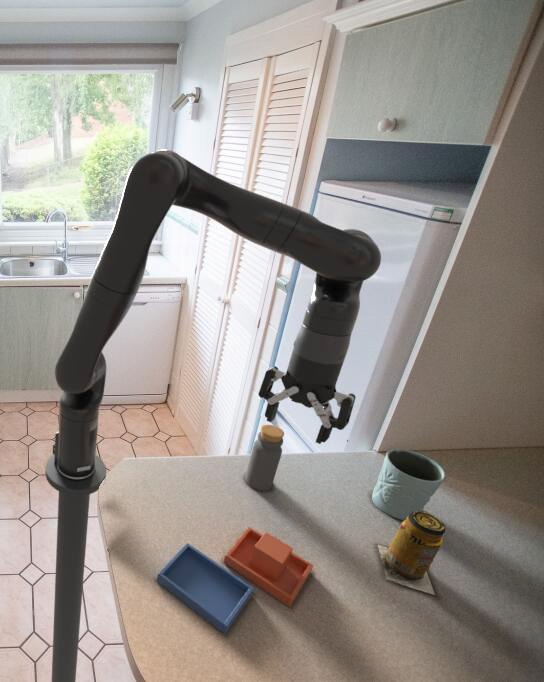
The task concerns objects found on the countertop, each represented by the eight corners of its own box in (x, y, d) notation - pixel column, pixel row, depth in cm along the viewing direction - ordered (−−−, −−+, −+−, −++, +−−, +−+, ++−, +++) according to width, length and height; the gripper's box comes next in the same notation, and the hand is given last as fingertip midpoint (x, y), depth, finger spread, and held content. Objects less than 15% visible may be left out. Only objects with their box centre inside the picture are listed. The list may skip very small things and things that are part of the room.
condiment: (421, 559, 88) (445, 513, 83) (434, 595, 81) (461, 549, 76) (377, 545, 91) (397, 501, 86) (385, 579, 84) (409, 533, 79)
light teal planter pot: (391, 486, 106) (409, 445, 101) (436, 518, 97) (459, 475, 92) (357, 494, 104) (374, 453, 99) (400, 529, 95) (421, 485, 90)
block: (248, 565, 86) (254, 546, 84) (259, 550, 90) (265, 531, 87) (275, 582, 83) (282, 563, 81) (286, 566, 86) (293, 548, 84)
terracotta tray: (223, 562, 88) (225, 555, 87) (246, 533, 94) (248, 526, 93) (289, 607, 79) (292, 599, 79) (310, 572, 86) (313, 565, 85)
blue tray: (156, 581, 84) (158, 573, 83) (185, 549, 90) (187, 542, 89) (224, 634, 75) (227, 626, 74) (251, 595, 81) (254, 588, 80)
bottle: (246, 488, 105) (260, 436, 99) (243, 471, 111) (256, 421, 104) (273, 493, 104) (290, 440, 98) (269, 476, 109) (284, 425, 103)
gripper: (375, 360, 73) (344, 440, 80) (284, 332, 83) (264, 406, 90) (360, 375, 69) (329, 458, 76) (266, 344, 79) (246, 421, 86)
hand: (294, 430), depth 83 cm, fingers open, 8 cm apart
